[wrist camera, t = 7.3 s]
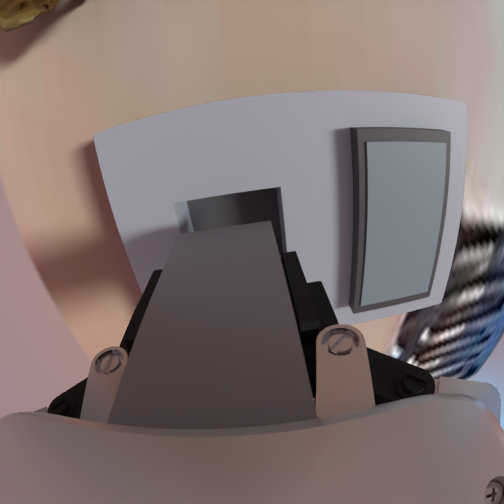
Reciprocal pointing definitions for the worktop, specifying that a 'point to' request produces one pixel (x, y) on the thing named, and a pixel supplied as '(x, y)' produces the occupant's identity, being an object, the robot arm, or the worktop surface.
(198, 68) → the worktop surface
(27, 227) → the worktop surface
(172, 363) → the block
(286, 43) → the worktop surface
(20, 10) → the animal skull
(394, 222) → the dock board
